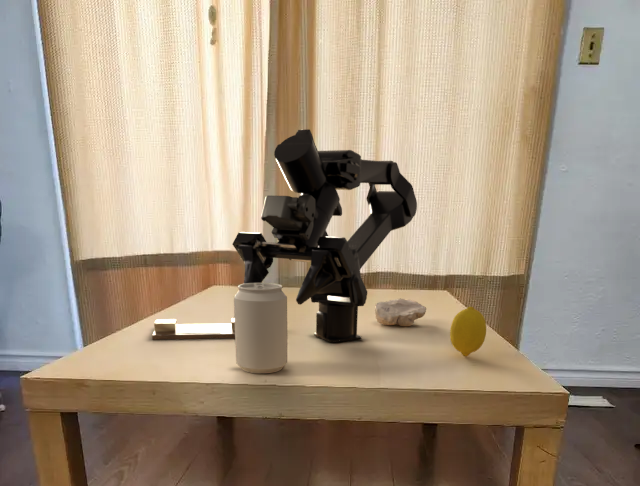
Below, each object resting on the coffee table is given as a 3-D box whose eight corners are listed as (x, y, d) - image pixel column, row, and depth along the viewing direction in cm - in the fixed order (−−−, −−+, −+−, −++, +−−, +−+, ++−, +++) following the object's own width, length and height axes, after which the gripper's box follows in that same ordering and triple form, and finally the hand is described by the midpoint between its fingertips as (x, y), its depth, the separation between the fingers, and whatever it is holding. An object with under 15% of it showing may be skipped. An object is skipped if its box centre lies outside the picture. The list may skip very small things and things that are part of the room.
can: (240, 376, 80) (236, 288, 76) (232, 362, 87) (229, 281, 82) (292, 373, 82) (292, 287, 77) (281, 359, 89) (281, 280, 84)
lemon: (490, 358, 91) (496, 308, 89) (464, 362, 89) (470, 310, 86) (466, 350, 96) (471, 302, 93) (440, 354, 93) (445, 304, 90)
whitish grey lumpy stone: (434, 312, 112) (392, 293, 108) (418, 342, 114) (376, 324, 110) (416, 300, 120) (376, 282, 116) (402, 329, 122) (362, 312, 118)
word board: (274, 326, 111) (274, 314, 110) (279, 337, 103) (278, 324, 102) (157, 328, 108) (156, 316, 107) (152, 339, 100) (151, 326, 99)
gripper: (237, 174, 85) (192, 257, 80) (349, 174, 77) (306, 266, 72) (268, 229, 95) (229, 306, 90) (371, 234, 86) (334, 319, 81)
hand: (271, 299), depth 83 cm, fingers open, 9 cm apart
